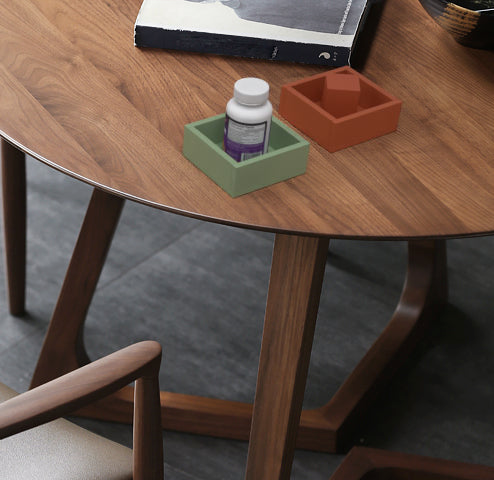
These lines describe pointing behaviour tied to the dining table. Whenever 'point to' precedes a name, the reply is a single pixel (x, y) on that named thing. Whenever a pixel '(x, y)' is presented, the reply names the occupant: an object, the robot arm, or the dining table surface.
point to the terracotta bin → (346, 128)
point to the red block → (340, 94)
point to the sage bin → (249, 171)
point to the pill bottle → (248, 120)
